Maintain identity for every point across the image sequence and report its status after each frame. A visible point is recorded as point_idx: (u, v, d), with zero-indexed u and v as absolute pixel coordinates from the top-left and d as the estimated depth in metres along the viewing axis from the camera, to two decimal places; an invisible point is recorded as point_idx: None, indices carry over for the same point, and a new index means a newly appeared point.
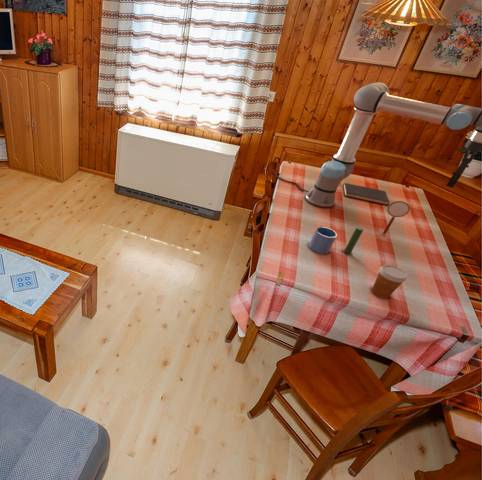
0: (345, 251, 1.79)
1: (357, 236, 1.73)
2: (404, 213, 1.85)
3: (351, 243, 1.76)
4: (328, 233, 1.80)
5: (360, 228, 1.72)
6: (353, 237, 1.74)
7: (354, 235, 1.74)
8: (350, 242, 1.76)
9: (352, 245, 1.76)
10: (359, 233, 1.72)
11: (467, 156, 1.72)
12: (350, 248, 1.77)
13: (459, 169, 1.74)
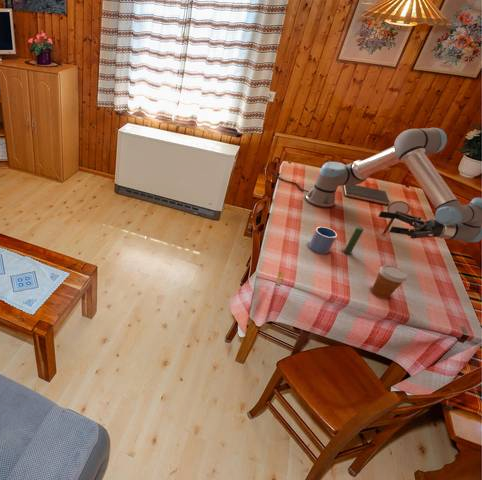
0: (345, 251, 1.79)
1: (357, 236, 1.73)
2: None
3: (351, 243, 1.76)
4: (328, 233, 1.80)
5: (360, 228, 1.72)
6: (353, 237, 1.74)
7: (354, 235, 1.74)
8: (350, 242, 1.76)
9: (352, 245, 1.76)
10: (359, 233, 1.72)
11: (431, 234, 1.60)
12: (350, 248, 1.77)
13: (418, 235, 1.59)
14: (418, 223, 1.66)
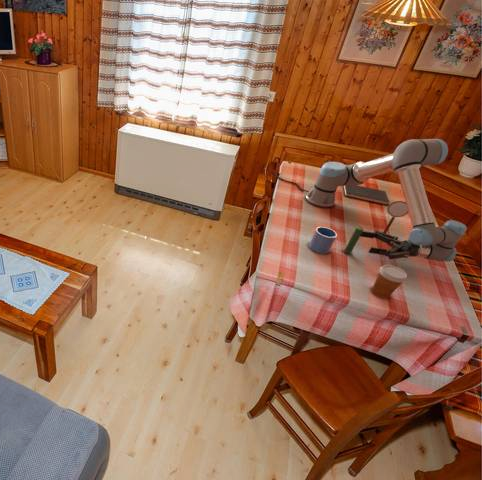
0: (345, 251, 1.79)
1: (357, 236, 1.73)
2: (404, 213, 1.85)
3: (351, 243, 1.76)
4: (328, 233, 1.80)
5: (360, 228, 1.72)
6: (353, 237, 1.74)
7: (354, 235, 1.74)
8: (350, 242, 1.76)
9: (352, 245, 1.76)
10: (359, 233, 1.72)
11: (407, 254, 1.67)
12: (350, 248, 1.77)
13: (395, 256, 1.66)
14: (395, 243, 1.73)
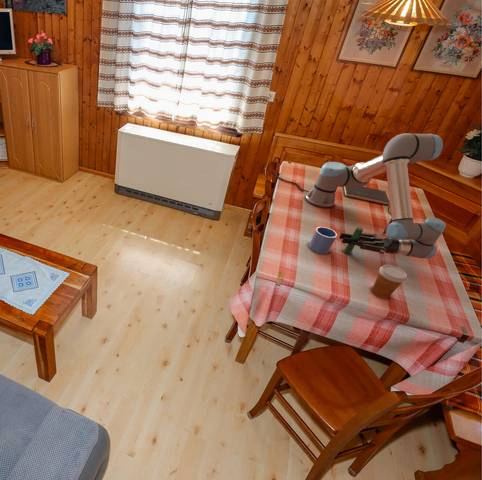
0: (345, 251, 1.79)
1: (357, 236, 1.73)
2: None
3: None
4: (328, 233, 1.80)
5: (360, 228, 1.72)
6: (353, 237, 1.74)
7: (354, 235, 1.74)
8: None
9: (352, 245, 1.76)
10: (359, 233, 1.72)
11: (382, 250, 1.69)
12: (350, 248, 1.77)
13: (367, 247, 1.71)
14: (377, 240, 1.74)
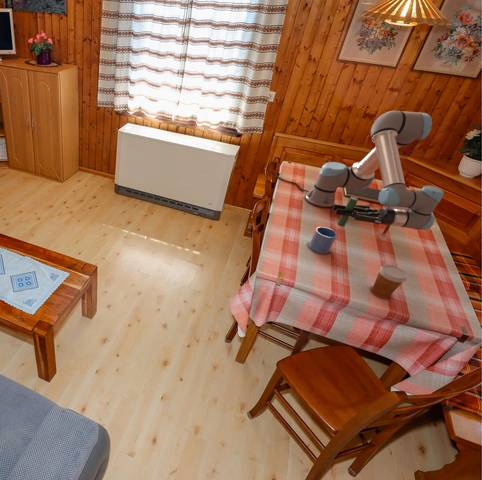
0: (339, 223, 1.72)
1: (351, 207, 1.66)
2: None
3: None
4: (328, 233, 1.80)
5: (354, 198, 1.65)
6: (347, 208, 1.67)
7: (348, 206, 1.66)
8: None
9: (346, 217, 1.69)
10: (353, 203, 1.65)
11: (377, 220, 1.62)
12: (344, 220, 1.70)
13: (361, 217, 1.63)
14: (372, 211, 1.67)
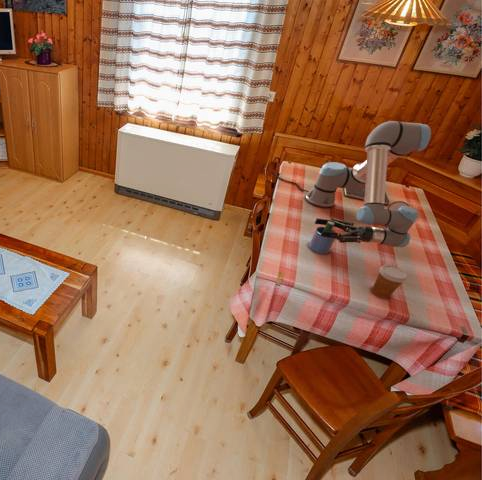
0: None
1: None
2: None
3: None
4: None
5: (331, 223, 1.73)
6: None
7: (325, 230, 1.75)
8: None
9: None
10: (330, 228, 1.73)
11: (359, 239, 1.68)
12: None
13: (346, 239, 1.68)
14: (351, 229, 1.73)
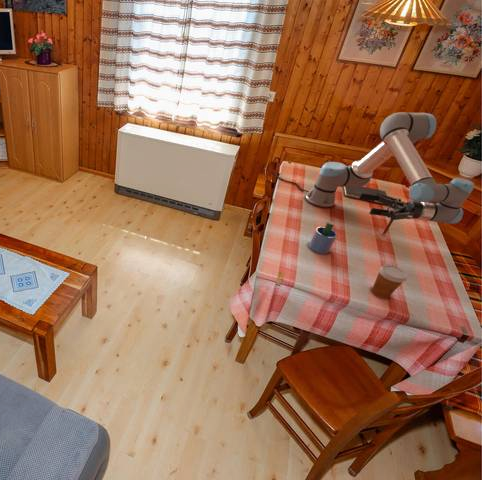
0: None
1: (328, 231, 1.74)
2: None
3: None
4: None
5: (331, 223, 1.73)
6: (324, 232, 1.76)
7: (325, 230, 1.75)
8: None
9: None
10: (330, 228, 1.73)
11: (410, 215, 1.57)
12: None
13: (398, 216, 1.56)
14: (398, 204, 1.63)
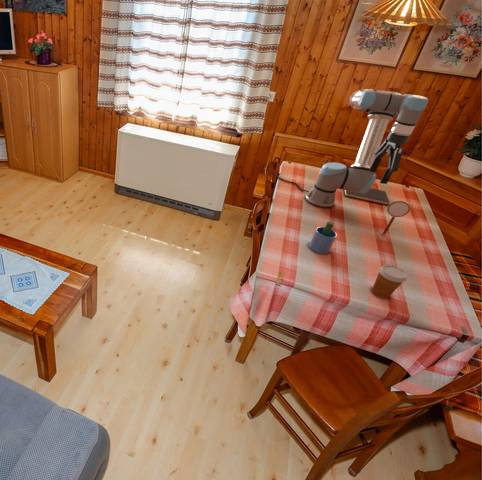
0: None
1: (328, 231, 1.74)
2: (404, 213, 1.85)
3: None
4: None
5: (331, 223, 1.73)
6: (324, 232, 1.76)
7: (325, 230, 1.75)
8: None
9: None
10: (330, 228, 1.73)
11: None
12: None
13: None
14: None
